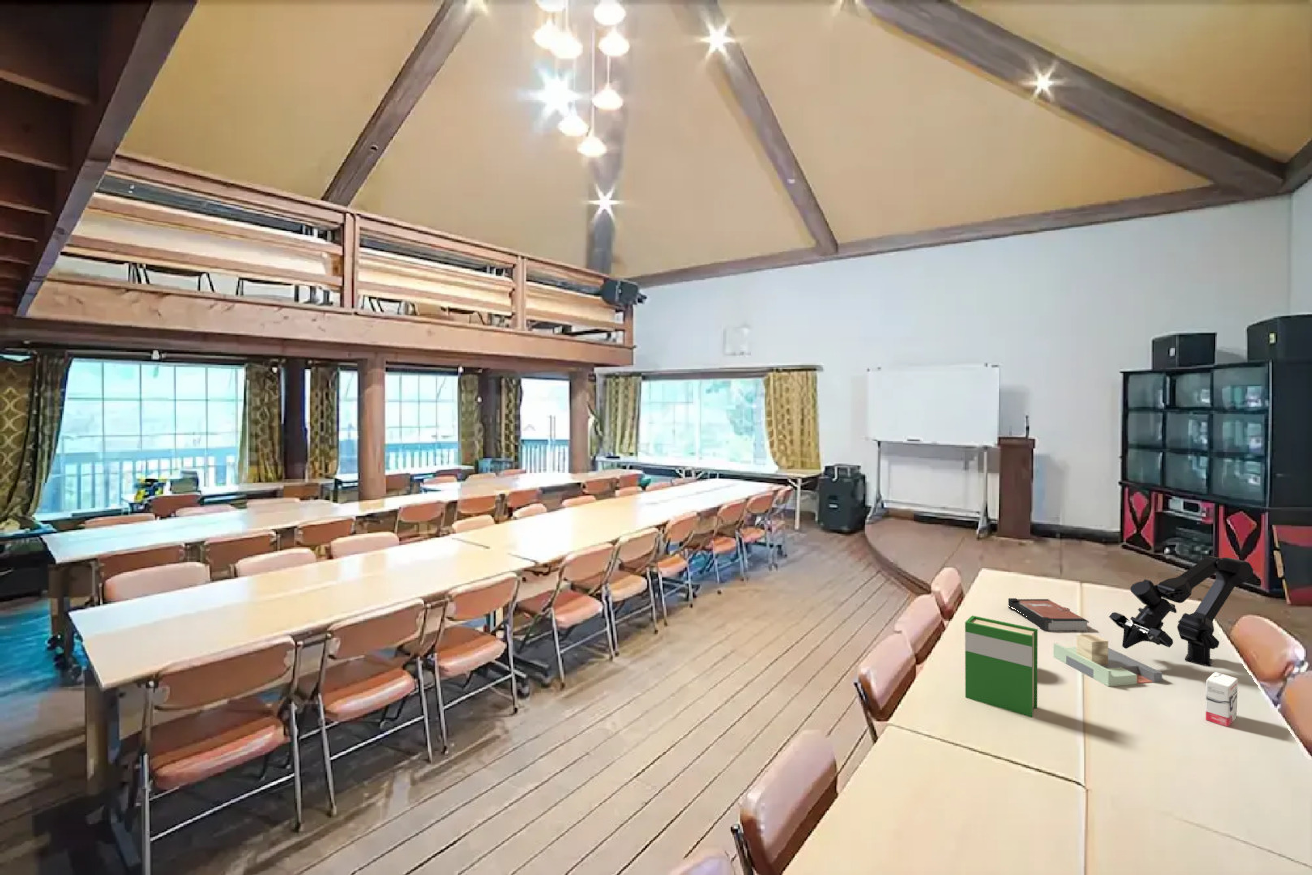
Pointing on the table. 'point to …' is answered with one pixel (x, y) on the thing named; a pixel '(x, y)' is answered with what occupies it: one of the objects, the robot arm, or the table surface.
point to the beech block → (1093, 648)
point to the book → (1048, 615)
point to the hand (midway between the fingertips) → (1124, 647)
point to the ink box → (1221, 699)
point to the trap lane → (1109, 667)
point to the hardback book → (1001, 664)
